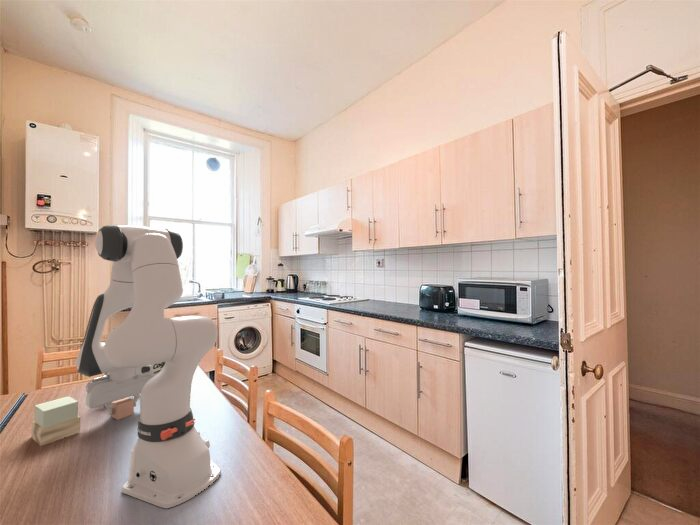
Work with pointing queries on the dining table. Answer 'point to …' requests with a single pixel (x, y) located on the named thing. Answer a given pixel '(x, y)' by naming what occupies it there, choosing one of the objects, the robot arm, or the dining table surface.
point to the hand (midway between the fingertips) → (122, 410)
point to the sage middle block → (56, 411)
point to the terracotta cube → (123, 408)
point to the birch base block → (55, 431)
